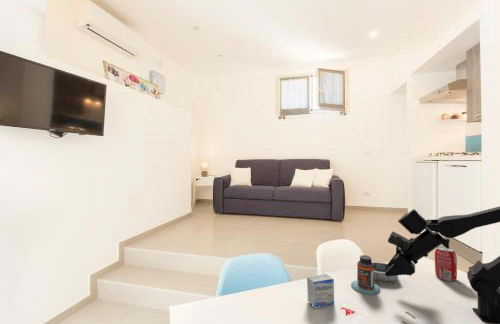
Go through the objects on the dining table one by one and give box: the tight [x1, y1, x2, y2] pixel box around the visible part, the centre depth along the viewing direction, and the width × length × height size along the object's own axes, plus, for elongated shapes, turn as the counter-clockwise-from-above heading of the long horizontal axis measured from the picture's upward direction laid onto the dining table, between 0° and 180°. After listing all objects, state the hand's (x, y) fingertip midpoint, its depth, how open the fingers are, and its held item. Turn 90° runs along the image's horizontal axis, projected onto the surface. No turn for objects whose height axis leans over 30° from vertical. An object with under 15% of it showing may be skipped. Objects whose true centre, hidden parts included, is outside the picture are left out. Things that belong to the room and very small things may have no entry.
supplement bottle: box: [356, 254, 375, 290], centre depth 95 cm, size 6×6×11 cm
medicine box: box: [306, 274, 335, 308], centre depth 86 cm, size 8×4×9 cm, turn 106°
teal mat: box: [350, 279, 381, 295], centre depth 95 cm, size 10×10×1 cm
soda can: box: [434, 245, 458, 282], centre depth 101 cm, size 7×7×12 cm
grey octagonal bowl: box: [371, 261, 399, 285], centre depth 103 cm, size 11×11×4 cm
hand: (387, 270), depth 91 cm, fingers open, 9 cm apart
